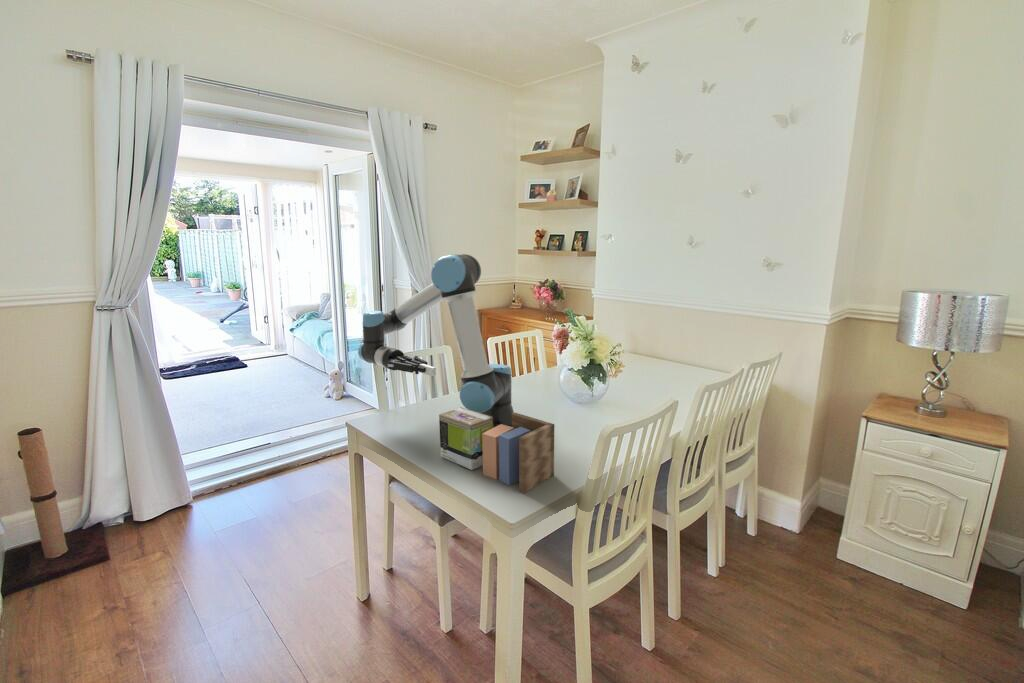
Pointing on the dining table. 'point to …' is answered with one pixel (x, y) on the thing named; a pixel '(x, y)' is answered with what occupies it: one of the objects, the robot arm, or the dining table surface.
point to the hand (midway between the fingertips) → (434, 371)
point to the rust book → (492, 450)
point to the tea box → (463, 436)
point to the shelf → (534, 451)
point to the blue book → (510, 455)
